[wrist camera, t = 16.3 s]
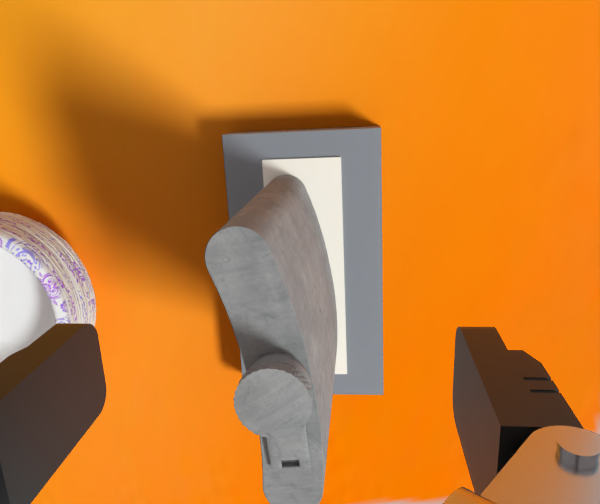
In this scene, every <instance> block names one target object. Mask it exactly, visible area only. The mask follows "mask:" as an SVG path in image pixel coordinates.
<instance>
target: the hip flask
mask: <svg viewBox="0 0 600 504" xmlns="http://www.w3.org/2000/svg"><path fill="white" fill-rule="evenodd" d="M205 263H206V267H207V269H208V272H209V274H210V276H211V278H212V280H213V282H214V284H215V286H216V288H217V290H218V293H219V295H220V297H221V300H222V302H223V304H224V306H225V309H226V311H227V314H228V317H229V319H230V322H231V324H232V327H233V330H234V333H235V336H236V339H237V342H238V344H239V348H240V351H241V354H242V358H243V361H244V365H245V369H246V373H245V374H243V375H242V379H241V380H240V381H239V385H238V386H237V390H236V391H235V397H234V407H235V411H236V414H237V415H238V418H239V420H240V421H241V422H242V424H243V425H244V426H246V427H247V428H248V430H250V431H252V432H253V433H255V434H257V435H260V443H261V452H262V467H263V491H264V494H265V497H266V498H267V500H268V501H269V502H270V504H319V502H320V501H321V498H322V495H323V487H324V477H325V467H326V457H327V446H328V436H329V426H330V415H331V405H332V395H333V385H334V374H335V364H336V354H337V310H336V299H335V291H334V284H333V278H332V273H331V268H330V263H329V258H328V254H327V249H326V245H325V241H324V238H323V234H322V231H321V228H320V224H319V221H318V218H317V215H316V212H315V210H314V207H313V205H312V202H311V199H310V197H309V195H308V192H307V190H306V188H305V186H304V184H303V183H302V181H301V180H299V179H298V178H297V177H295V176H292V175H280V176H277V177H276V178H274V179H273V180H272V181H271V182H270V183H269V184H268V185H267V186H265V187H264V188H263V189H262V190H261V191H260V192H259V193H258V194H257V195H256V196H255V197H254V198H253V199H251V200H250V201H249V202H248V203H247V204H246V205H245V206H244V207H243V208H242V209H241V210H240V211H239V212H238V213H236V214H235V215H234V216H233V217H232V218H231V219H230V220H229V221H228V222H227V223H226V224H225V225H224V226H223V227H221V228H220V229H219V230H218V231H217V232H216V233H215V234H214V235H213V236H212V237H211V239H210V240H209V242H208V244H207V246H206V250H205Z"/></svg>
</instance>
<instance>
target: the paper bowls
mask: <svg viewBox="0 0 600 504" xmlns="http://www.w3.org/2000/svg"><path fill="white" fill-rule="evenodd" d="M95 321H96V300H95V293H94V289H93V287H92V284H91V280H90V277H89V275H88V272H87V270H86V269H85V266H84V265H83V264H82V262H81V260H80V259H79V257H78V255H77V254H76V253H75V252H74V250H73V249H72V248H71V246H70V245H69V244H68V243H67V242H66V241H65V240H64V239H63V238H62V237H60V236H59V235H58V234H57V233H55V232H54V231H53V230H51V229H50V228H48V227H46V226H45V225H43V224H42V223H40V222H37V221H35V220H32V219H30V218H28V217H25V216H22V215H19V214H16V213H11V212H0V363H1V362H2V361H3V360H4V359H6V358H7V357H8V356H10V355H11V354H13V353H15V352H17V351H20V350H22V349H24V348H26V347H28V346H29V345H30V344H31V343H33V342H34V341H35V340H36V339H38V338H39V337H40V336H41V335H43V334H44V333H45V332H46V331H48V330H49V329H50V328H51V327H52V326H54V325H55V324H58V323H82V324H92V325H93V326H94V327H95Z"/></svg>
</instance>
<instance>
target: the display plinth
mask: <svg viewBox="0 0 600 504" xmlns="http://www.w3.org/2000/svg"><path fill="white" fill-rule="evenodd" d="M222 142H223V154H224V165H225V177H226V189H227V201H228V213H229V220H230V219H231V218H232V217H233V216H234V215H235V214H236V213H238V212H239V211H240V210H241V209H242V208H243V207H244V206H245V205H246V204H247V203H248V202H249V201H250V200H251V199H253V198H254V197H255V196H256V195H257V194H258V193H259V192H260V191H261V190H262V189H263V188H264V187H265V186H267V185H268V184H269V183H270V182H271V181H272V180H273V179H274V178H276V177H277V176H280V175H292V176H295V177H297V178H298V179H299V180H301V181H302V183H303V184H304V186H305V188H306V190H307V192H308V195H309V197H310V199H311V202H312V205H313V207H314V210H315V212H316V215H317V218H318V221H319V224H320V228H321V231H322V234H323V238H324V241H325V245H326V249H327V254H328V258H329V263H330V268H331V273H332V278H333V284H334V291H335V299H336V310H337V354H336V364H335V374H334V385H333V394H364V395H383V295H382V184H381V127H380V126H365V127H342V128H320V129H297V130H274V131H252V132H231V133H227V134H223V135H222ZM240 354H241V351H240ZM241 366H242V375H243V374H245V373H246V369H245V365H244V361H243V358H242V354H241Z"/></svg>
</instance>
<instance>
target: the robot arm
mask: <svg viewBox="0 0 600 504" xmlns="http://www.w3.org/2000/svg"><path fill="white" fill-rule="evenodd" d="M105 398H106V383H105V377H104V371H103V365H102V359H101V352H100V346H99V340H98V335H97V331H96V329H95V327H94V326H93V325H92V324H82V323H58V324H55V325H54V326H52V327H51V328H50V329H49V330H48V331H46V332H45V333H44V334H43V335H41V336H40V337H39V338H38V339H36V340H35V341H34V342H33V343H31V344H30V345H29V346H28V347H26V348H24V349H22V350H20V351H17V352H15V353H13V354H11V355H10V356H8V357H7V358H6V359H4V360H3V361H2V362H1V363H0V504H31V502H32V501H33V500H34V498H35V497H36V496H37V495H38V493H39V492H40V491H41V489H42V488H43V487H44V485H45V484H46V483H47V482H48V480H49V479H50V478H51V476H52V475H53V474H54V473H55V471H56V470H57V469H58V467H59V466H60V465H61V463H62V462H63V461H64V460H65V458H66V457H67V456H68V454H69V453H70V452H71V451H72V449H73V448H74V447H75V445H76V444H77V443H78V441H79V440H80V439H81V438H82V436H83V435H84V434H85V432H86V431H87V430H88V429H89V427H90V426H91V425H92V423H93V422H94V421H95V420H96V418H97V417H98V416H99V414H100V413H101V411H102V409H103V406H104V403H105ZM453 410H454V418H455V423H456V427H457V431H458V434H459V438H460V441H461V445H462V448H463V452H464V456H465V459H466V463H467V466H468V470H469V473H470V477H471V480H472V484H473V487H474V491H475V493H474V492H472V491H470V490H468V489H466V488H464V487H461V488H458V489H457V490H455V491H454V492H453V493H452V494H451V495H450V496H449V497H448V498H447V499H446V500H445V502H444V503H443V504H600V435H599V434H597V433H594V432H592V431H589V430H585V429H583V427H582V425H581V424H580V422H579V421H578V419H577V418H576V416H575V415H574V413H573V411H572V410H571V408H570V407H569V405H568V404H567V402H566V401H565V399H564V398H563V396H562V394H561V393H559V390H558V388H557V387H556V385H555V384H554V382H553V381H551V377H550V376H549V374H548V373H547V371H546V370H545V368H544V367H543V365H542V363H540V362H539V361H537V360H536V359H535V358H533V357H532V356H530V355H529V354H527V353H526V352H524V351H523V350H507V348H506V346H505V344H504V342H503V341H502V339H501V337H500V335H499V333H498V332H497V330H496V328H495V327H458V328H457V331H456V340H455V360H454V380H453Z"/></svg>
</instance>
